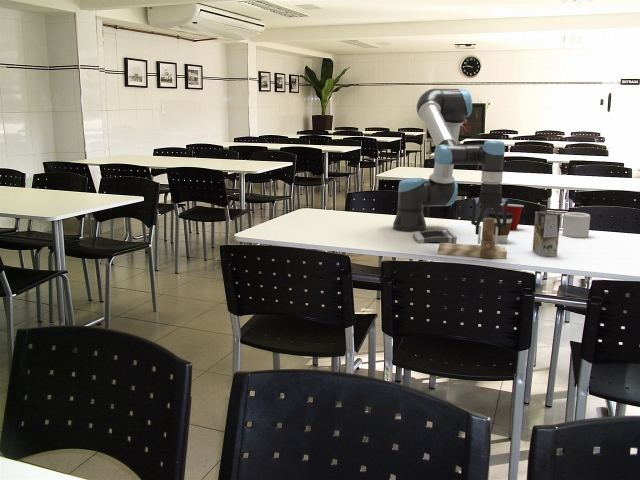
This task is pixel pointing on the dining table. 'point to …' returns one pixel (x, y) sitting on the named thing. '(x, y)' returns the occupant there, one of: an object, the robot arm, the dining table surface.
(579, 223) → the mug
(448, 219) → the dining table surface
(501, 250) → the board
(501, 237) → the coffee cup
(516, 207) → the plastic cup
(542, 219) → the coffee box
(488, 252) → the gauge
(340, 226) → the dining table surface
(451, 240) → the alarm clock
